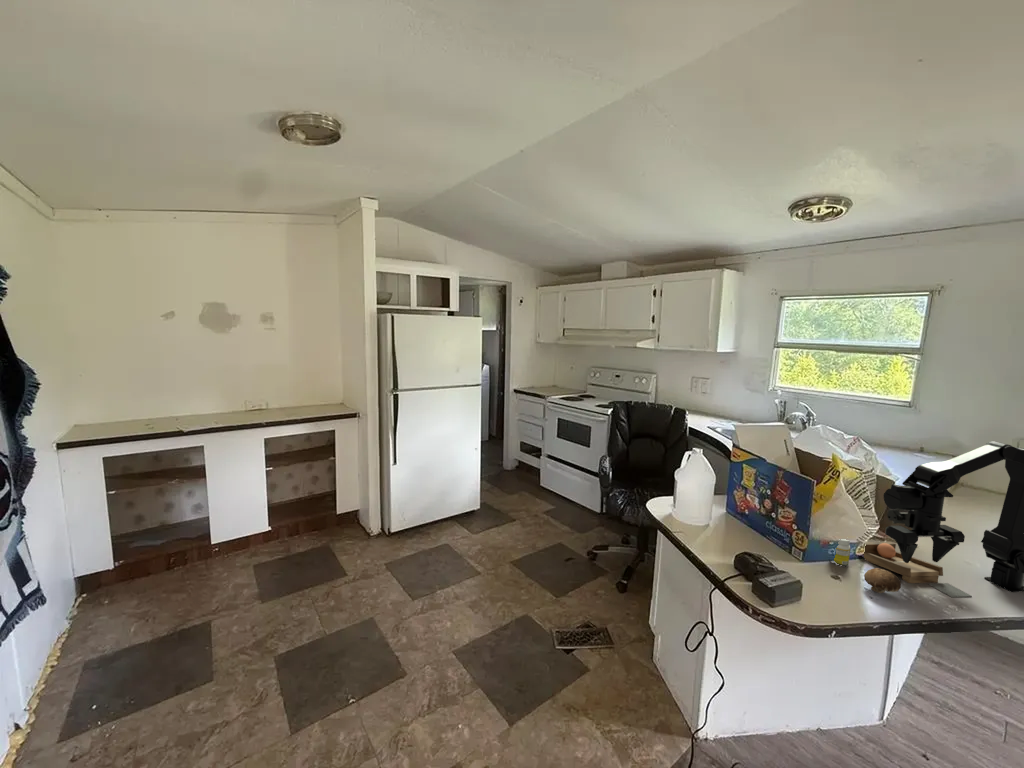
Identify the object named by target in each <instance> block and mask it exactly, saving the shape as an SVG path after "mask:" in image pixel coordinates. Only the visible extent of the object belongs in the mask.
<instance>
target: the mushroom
mask: <svg viewBox="0 0 1024 768" xmlns="http://www.w3.org/2000/svg"><path fill="white" fill-rule="evenodd" d="M863 577H864V581H865V582H866V583H867V584H868V585H869V586H871V587H870V589H871V590H872V591H874V593H875V592H876V593H878V594H884V593H885V592H888V593H891V592H892V593H897V592H898V591H900V590H901V588H902V581H901V580H900V578H899V577H898V576H897V575H896V574H894V573H893V572H891V571H890V570H888V569H885V568H879V567H874V568H871V569H868V570H867V571H865V573H863Z"/></svg>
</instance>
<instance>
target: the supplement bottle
mask: <svg viewBox="0 0 1024 768" xmlns="http://www.w3.org/2000/svg"><path fill="white" fill-rule="evenodd" d="M850 541H851V540H846V539H841V540H840V539H839V542H838V544H839V545H838V546H837V548H836V555H835V558H834V561H835V562H836V563H837V564H839V565H842V566H848V567H849V563H850V555H851V554H850V553H851V545H850V544H851V542H850Z"/></svg>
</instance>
